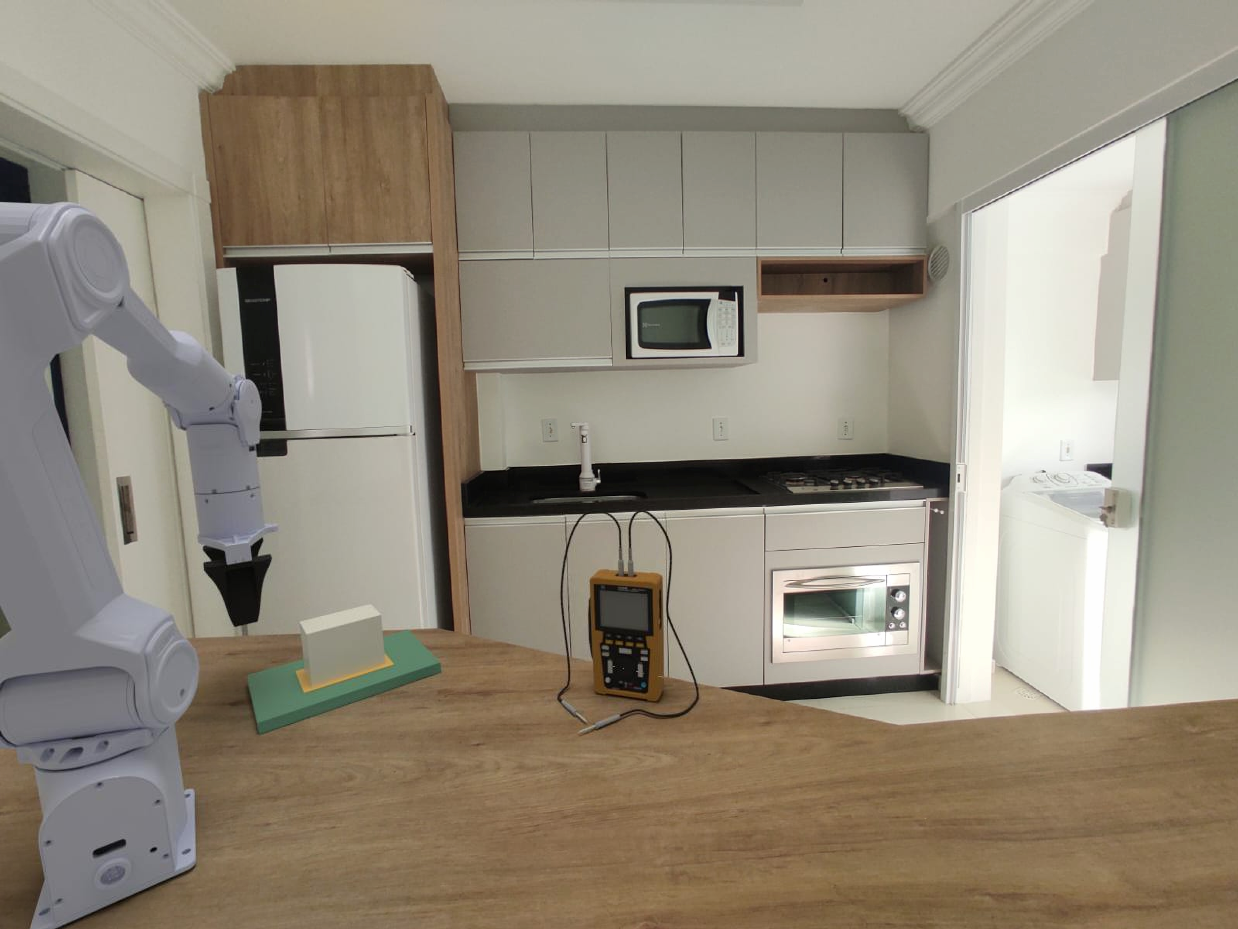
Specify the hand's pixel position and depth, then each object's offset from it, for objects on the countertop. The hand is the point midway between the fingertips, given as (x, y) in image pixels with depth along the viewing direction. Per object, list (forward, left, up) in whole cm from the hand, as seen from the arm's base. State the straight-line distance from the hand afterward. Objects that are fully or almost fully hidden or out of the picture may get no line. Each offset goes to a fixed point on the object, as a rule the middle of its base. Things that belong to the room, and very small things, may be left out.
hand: (243, 612), depth 59 cm
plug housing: (-3, -9, -8) cm, 12 cm away
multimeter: (-29, -29, -10) cm, 42 cm away
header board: (-3, -9, -9) cm, 13 cm away
